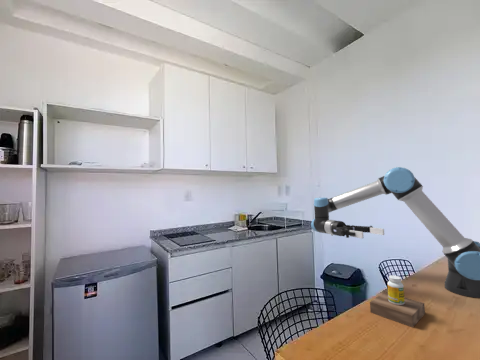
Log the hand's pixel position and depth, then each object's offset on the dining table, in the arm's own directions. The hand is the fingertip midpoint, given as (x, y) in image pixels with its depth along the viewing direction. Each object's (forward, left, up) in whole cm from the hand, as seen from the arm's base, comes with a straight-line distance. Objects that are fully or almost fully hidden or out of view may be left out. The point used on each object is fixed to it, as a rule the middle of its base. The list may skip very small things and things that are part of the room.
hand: (373, 233), depth 105 cm
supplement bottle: (-2, +11, -25) cm, 27 cm away
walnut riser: (-2, +11, -29) cm, 31 cm away
